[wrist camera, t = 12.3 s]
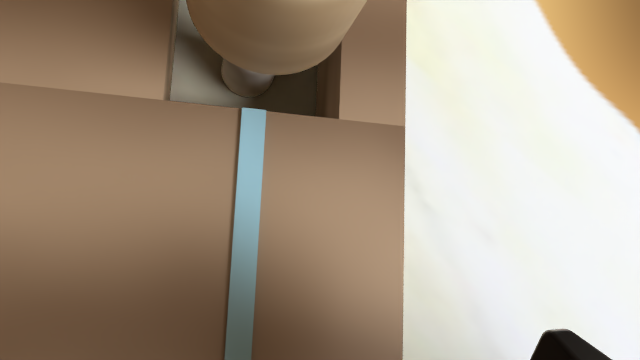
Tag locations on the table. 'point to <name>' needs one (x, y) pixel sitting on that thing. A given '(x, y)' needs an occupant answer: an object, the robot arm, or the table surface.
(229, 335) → the subfloor panel
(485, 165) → the table surface
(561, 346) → the robot arm
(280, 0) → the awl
